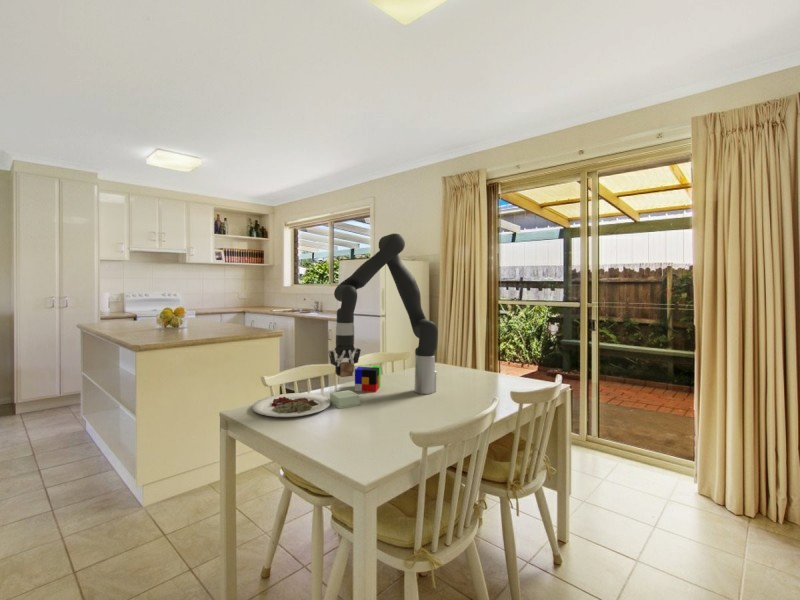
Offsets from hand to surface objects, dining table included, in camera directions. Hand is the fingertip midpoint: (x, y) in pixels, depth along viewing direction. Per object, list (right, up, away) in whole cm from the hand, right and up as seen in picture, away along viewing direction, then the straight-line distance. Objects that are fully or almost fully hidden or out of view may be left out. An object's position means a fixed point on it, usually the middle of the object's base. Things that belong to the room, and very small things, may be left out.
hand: (344, 374), depth 169 cm
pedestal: (0, -12, 0) cm, 12 cm away
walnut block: (0, 0, 0) cm, 0 cm away
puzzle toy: (+8, -12, +25) cm, 29 cm away
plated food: (-20, -13, -6) cm, 24 cm away
